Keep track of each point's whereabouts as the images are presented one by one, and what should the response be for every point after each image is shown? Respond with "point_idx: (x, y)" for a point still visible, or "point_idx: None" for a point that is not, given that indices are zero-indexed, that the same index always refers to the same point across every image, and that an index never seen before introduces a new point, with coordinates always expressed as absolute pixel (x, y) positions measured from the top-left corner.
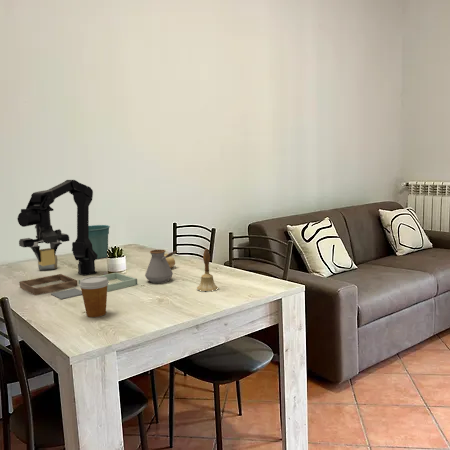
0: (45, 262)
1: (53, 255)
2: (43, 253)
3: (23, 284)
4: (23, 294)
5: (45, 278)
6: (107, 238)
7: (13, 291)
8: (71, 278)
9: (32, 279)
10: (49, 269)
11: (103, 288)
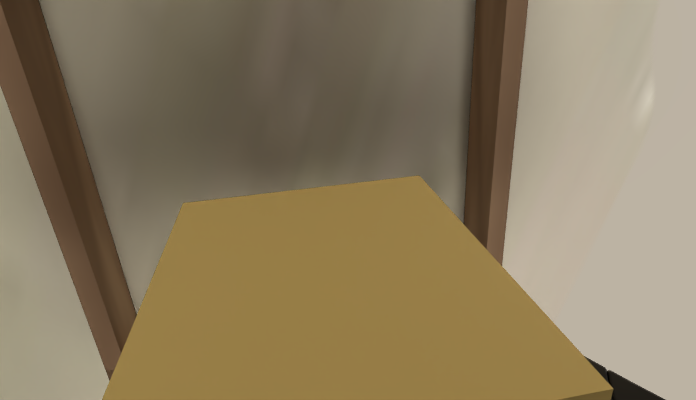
0: (385, 205)
1: (169, 310)
2: (505, 337)
3: (501, 230)
4: (547, 55)
5: None
6: None
7: (551, 212)
8: (21, 109)
9: None
10: None
11: None
